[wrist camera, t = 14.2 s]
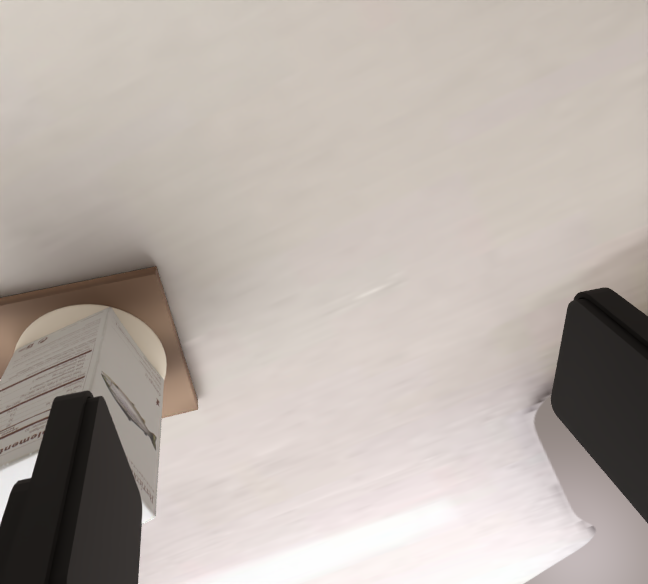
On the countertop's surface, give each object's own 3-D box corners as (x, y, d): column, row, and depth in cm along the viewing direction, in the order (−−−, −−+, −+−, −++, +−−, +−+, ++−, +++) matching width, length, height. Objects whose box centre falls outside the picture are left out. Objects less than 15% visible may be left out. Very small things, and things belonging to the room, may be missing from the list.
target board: (-29, 303, 36) (-36, 314, 35) (156, 266, 38) (155, 275, 37) (40, 436, 42) (36, 449, 41) (197, 399, 44) (197, 410, 43)
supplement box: (167, 379, 41) (161, 521, 30) (74, 420, 41) (34, 578, 30) (112, 301, 37) (82, 432, 26) (10, 346, 37) (-62, 497, 26)
